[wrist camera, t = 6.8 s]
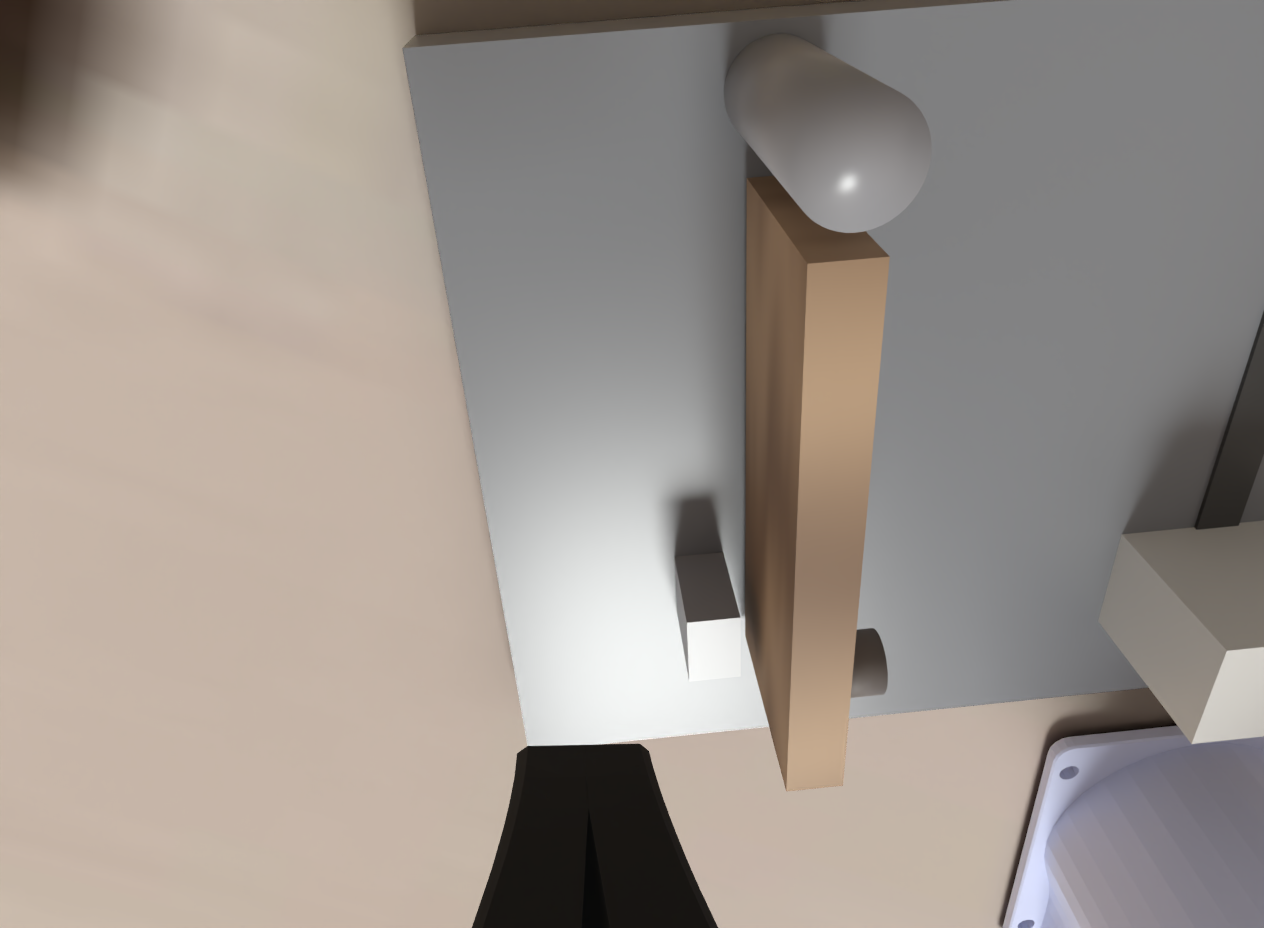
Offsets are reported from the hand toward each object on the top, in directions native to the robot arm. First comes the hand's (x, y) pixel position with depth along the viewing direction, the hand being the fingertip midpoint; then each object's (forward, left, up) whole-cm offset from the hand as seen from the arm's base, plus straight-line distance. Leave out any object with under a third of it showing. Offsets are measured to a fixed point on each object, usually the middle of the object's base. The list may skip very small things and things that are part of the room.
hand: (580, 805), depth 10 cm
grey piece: (-1, -9, -10) cm, 13 cm away
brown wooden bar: (0, -4, -8) cm, 9 cm away
